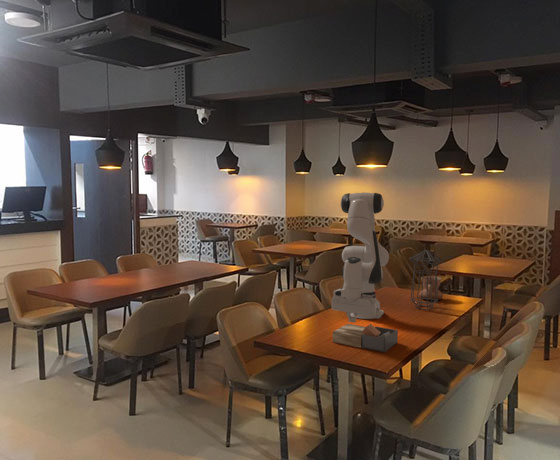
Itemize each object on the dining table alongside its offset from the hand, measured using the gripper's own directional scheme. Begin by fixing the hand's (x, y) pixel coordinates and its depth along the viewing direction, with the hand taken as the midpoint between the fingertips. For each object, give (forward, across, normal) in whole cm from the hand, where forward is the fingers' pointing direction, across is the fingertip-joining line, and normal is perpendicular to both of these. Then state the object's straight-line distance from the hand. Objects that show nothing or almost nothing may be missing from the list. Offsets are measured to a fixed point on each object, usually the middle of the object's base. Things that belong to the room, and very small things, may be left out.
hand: (352, 321), depth 228 cm
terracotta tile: (+4, -9, +2) cm, 10 cm away
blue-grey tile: (+4, -15, +1) cm, 15 cm away
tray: (+8, -14, +1) cm, 16 cm away
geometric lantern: (+11, -10, -83) cm, 84 cm away
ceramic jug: (+11, -7, -107) cm, 108 cm away
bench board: (+8, -1, +1) cm, 9 cm away
